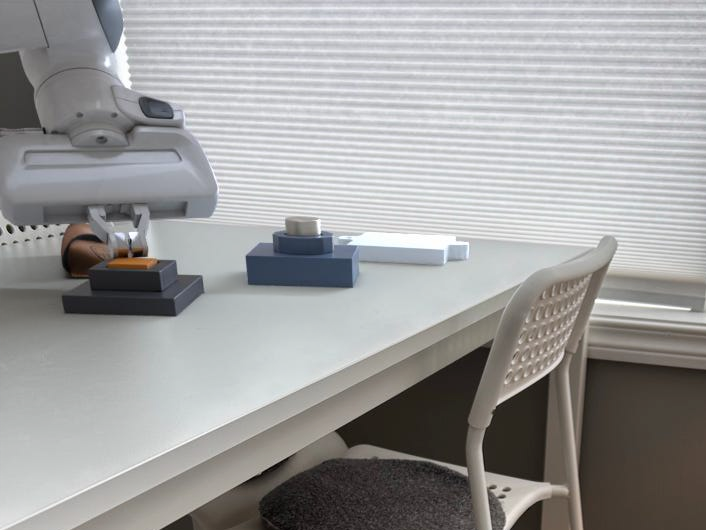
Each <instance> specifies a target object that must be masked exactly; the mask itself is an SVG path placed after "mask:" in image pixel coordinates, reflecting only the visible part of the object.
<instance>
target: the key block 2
mask: <svg viewBox="0 0 706 530" xmlns="http://www.w3.org/2000/svg"><path fill="white" fill-rule="evenodd" d="M320 232H321V236H312V237H298V236H288V235H286V229H284V230H279V231H274V232H273V233H272V242H258V244H256V245H255V246H254V247H253V248H252V249H251V250H250V251H249V252H248V253H246V254H245V255H244V256H245V267H246V268H245V269H246V279H247V285H248V286H271V285H275V287H276V286H277V287H278V286H279V287H306V288H307V287H310V288H344V289H345V288H347V289H353V288H354V286H355V284H356V282H357V279H358V277H359V275H360V261H359V249H358V246H355V245H338V244H335V235H334V233H332V232H329V231H326V230H320Z"/></svg>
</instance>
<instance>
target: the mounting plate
mask: <svg viewBox="0 0 706 530" xmlns="http://www.w3.org/2000/svg"><path fill="white" fill-rule="evenodd" d="M337 245H355V246H358V249H359V260H362V261H361V262H375V261H377V263H399V264H417V265H436V266H445V264H446V263H447V262H448V261H451V260H452V261H453V260H459V261H465V260H468V259H469V251H470V249H469V248H470V242H468V241H457V239H456V236H455V235H435V234H419V233H418V234H417V233H416V234H415V233H397V232H396V233H395V232H377V231H375V232H374V231H365V232H364V233H362V234H360V235H340V236H338V237H337Z"/></svg>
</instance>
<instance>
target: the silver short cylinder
mask: <svg viewBox="0 0 706 530" xmlns="http://www.w3.org/2000/svg"><path fill="white" fill-rule="evenodd" d="M284 225H285V227H284V228H285V230H286V235H288V236H298V237H312V236H321V232H320V231H321V219H320V218H318V217H313V216H288V217H285V218H284Z"/></svg>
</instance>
